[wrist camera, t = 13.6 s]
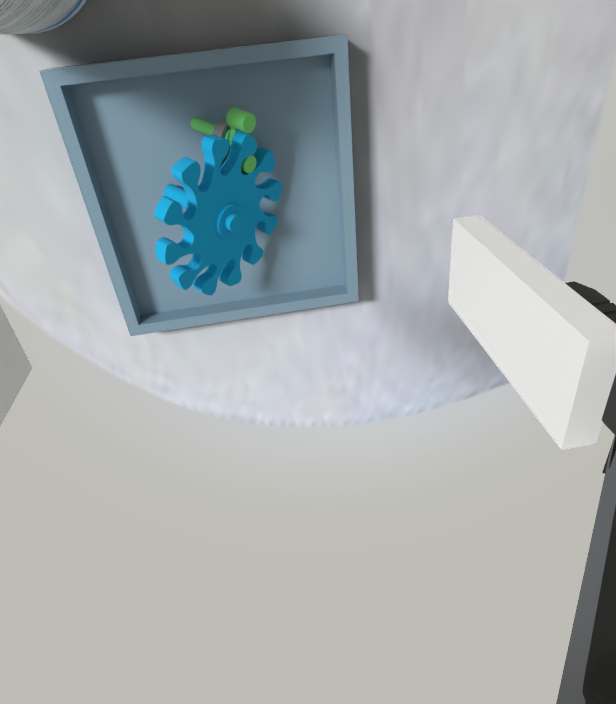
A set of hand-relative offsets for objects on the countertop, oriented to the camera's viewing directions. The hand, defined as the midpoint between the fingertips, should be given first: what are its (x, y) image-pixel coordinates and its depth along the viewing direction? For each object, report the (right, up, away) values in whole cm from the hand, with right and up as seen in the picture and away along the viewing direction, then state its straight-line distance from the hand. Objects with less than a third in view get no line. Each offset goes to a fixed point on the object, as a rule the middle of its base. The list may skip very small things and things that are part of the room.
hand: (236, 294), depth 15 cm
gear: (-3, +9, +19) cm, 21 cm away
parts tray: (-4, +9, +19) cm, 22 cm away
